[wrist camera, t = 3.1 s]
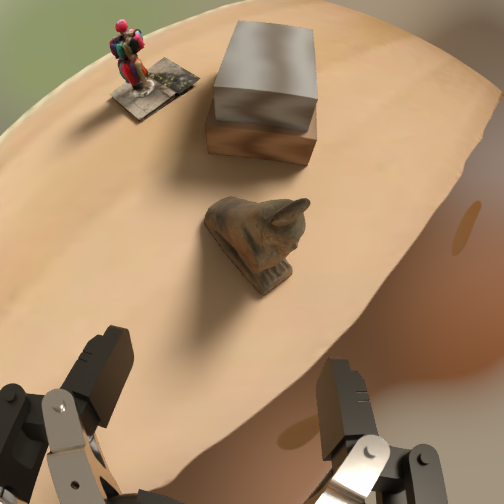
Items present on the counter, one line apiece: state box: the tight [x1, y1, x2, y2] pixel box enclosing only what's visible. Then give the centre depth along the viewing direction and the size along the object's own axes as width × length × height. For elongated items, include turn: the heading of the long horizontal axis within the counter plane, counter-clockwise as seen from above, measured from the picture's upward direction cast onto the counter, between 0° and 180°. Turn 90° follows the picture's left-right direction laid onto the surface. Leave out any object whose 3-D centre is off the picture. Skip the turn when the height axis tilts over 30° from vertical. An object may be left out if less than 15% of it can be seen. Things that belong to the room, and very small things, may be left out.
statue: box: [109, 20, 200, 122], centre depth 30 cm, size 11×9×15 cm
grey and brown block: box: [205, 21, 318, 165], centre depth 31 cm, size 12×18×10 cm, turn 173°
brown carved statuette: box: [204, 197, 310, 296], centre depth 23 cm, size 11×5×16 cm, turn 33°
